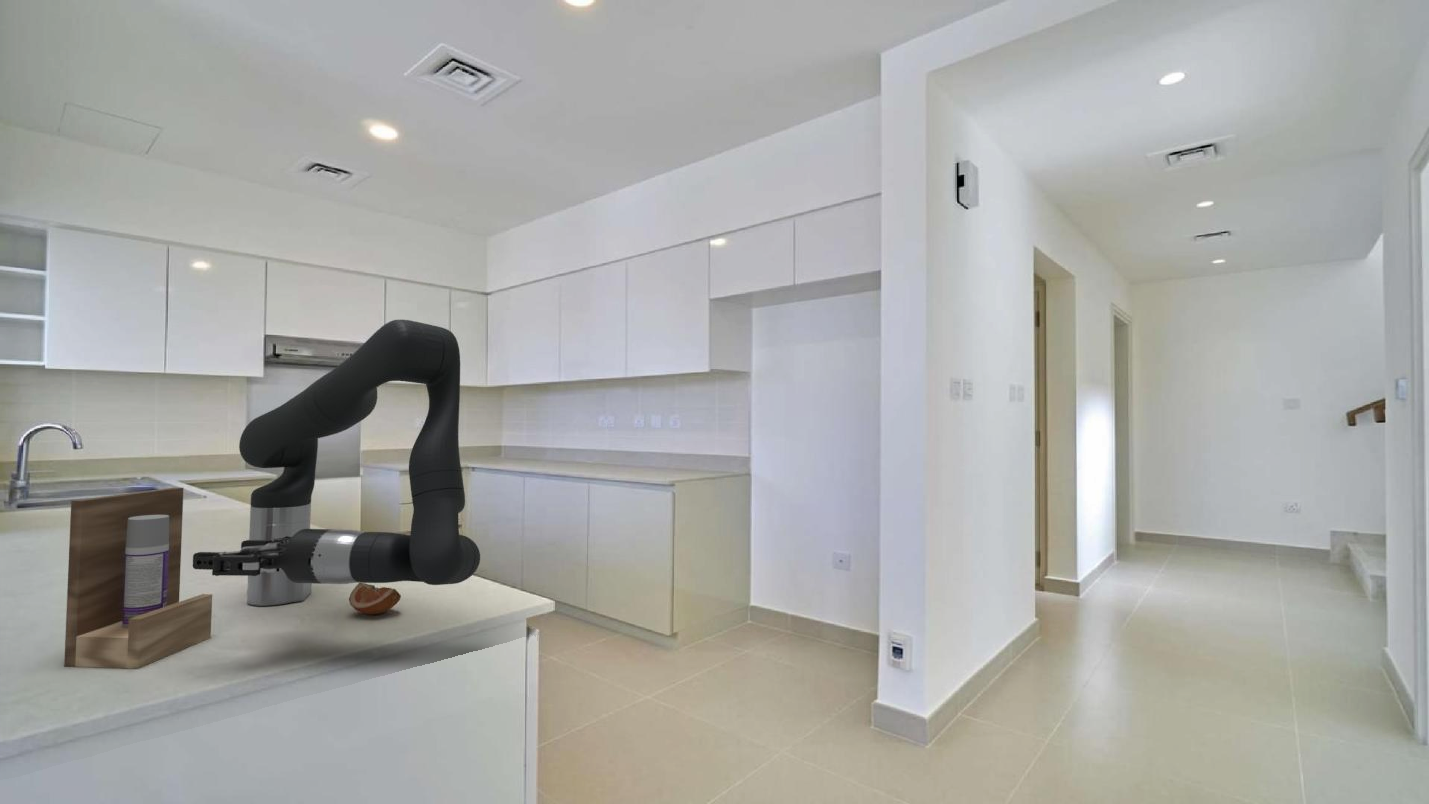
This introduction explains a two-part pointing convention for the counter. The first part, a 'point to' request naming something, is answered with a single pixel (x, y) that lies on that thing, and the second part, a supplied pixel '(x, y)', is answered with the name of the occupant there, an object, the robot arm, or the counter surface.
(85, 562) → the board
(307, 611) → the counter surface
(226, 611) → the counter surface
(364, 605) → the fruit slice
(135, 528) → the container
